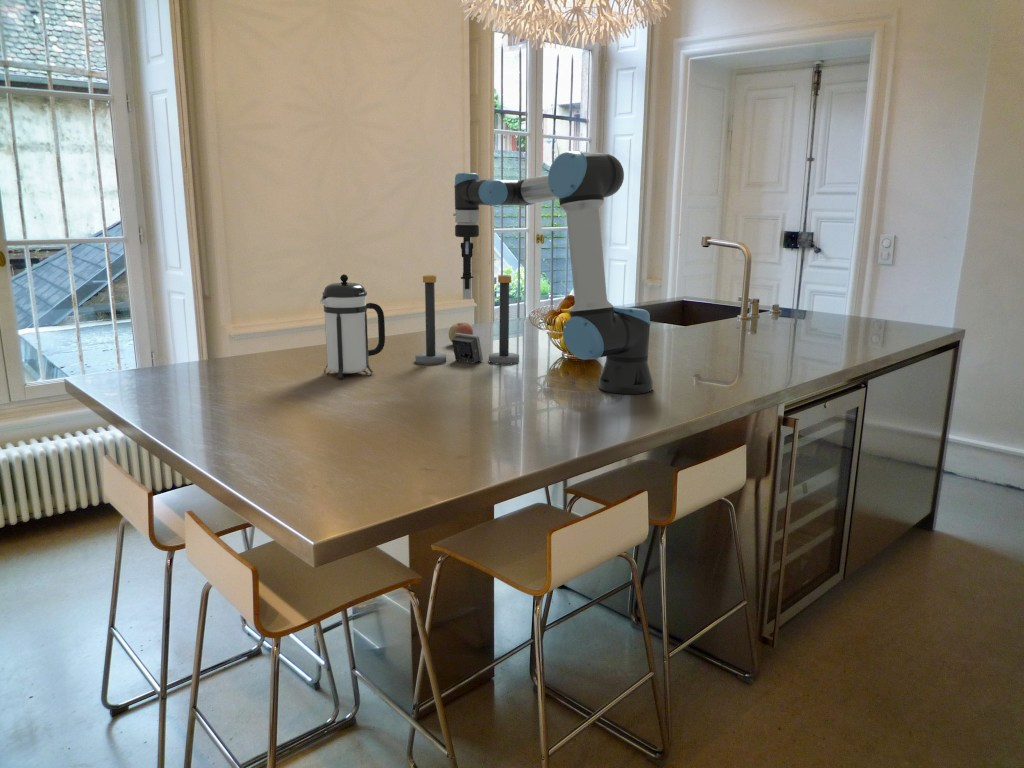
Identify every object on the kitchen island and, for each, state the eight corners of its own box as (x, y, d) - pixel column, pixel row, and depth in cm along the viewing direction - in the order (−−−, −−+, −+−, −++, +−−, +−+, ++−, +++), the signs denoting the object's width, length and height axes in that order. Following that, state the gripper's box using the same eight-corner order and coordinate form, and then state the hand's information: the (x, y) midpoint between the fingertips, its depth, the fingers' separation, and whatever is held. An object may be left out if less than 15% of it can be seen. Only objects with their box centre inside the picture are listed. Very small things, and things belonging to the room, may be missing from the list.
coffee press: (365, 381, 220) (361, 277, 213) (314, 378, 223) (308, 276, 216) (386, 368, 237) (383, 272, 230) (338, 366, 240) (334, 270, 233)
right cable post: (520, 364, 245) (521, 277, 238) (489, 364, 244) (489, 277, 238) (518, 358, 254) (519, 274, 248) (488, 358, 254) (488, 274, 247)
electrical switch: (483, 362, 249) (481, 334, 246) (474, 366, 244) (472, 338, 242) (460, 358, 253) (458, 331, 251) (451, 362, 249) (449, 335, 246)
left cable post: (445, 364, 243) (444, 277, 237) (414, 364, 243) (412, 277, 236) (446, 358, 253) (445, 274, 246) (416, 358, 253) (414, 273, 246)
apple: (474, 343, 280) (474, 321, 278) (470, 347, 271) (470, 325, 270) (451, 342, 281) (450, 321, 279) (446, 347, 272) (446, 325, 270)
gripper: (455, 223, 244) (455, 296, 250) (454, 224, 232) (454, 301, 237) (478, 223, 245) (478, 296, 250) (479, 225, 232) (478, 301, 238)
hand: (467, 298), depth 244 cm, fingers closed
